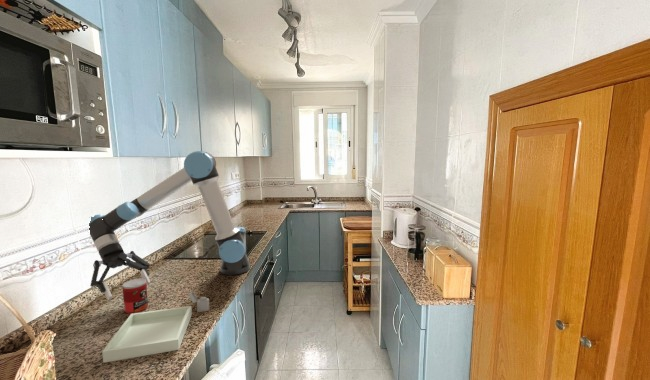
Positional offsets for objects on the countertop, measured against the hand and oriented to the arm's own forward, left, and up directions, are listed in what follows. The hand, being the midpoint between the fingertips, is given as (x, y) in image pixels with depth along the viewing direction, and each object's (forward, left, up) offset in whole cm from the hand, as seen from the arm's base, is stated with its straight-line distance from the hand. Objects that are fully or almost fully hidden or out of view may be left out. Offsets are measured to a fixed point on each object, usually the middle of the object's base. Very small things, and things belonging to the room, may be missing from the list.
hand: (130, 290), depth 106 cm
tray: (-14, +21, -7) cm, 26 cm away
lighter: (-26, +9, -8) cm, 29 cm away
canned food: (-2, +1, -8) cm, 8 cm away
